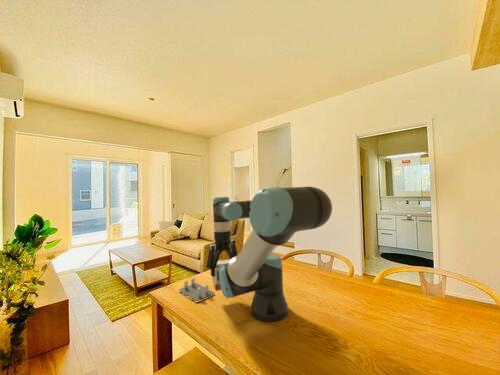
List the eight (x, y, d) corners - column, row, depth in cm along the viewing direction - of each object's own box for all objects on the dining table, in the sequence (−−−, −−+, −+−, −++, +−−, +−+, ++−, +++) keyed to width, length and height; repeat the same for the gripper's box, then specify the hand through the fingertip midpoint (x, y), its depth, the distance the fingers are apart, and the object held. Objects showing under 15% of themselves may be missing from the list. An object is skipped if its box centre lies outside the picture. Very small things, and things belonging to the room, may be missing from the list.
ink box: (215, 291, 95) (214, 264, 95) (214, 286, 99) (213, 261, 100) (234, 288, 97) (233, 262, 97) (232, 283, 102) (231, 258, 102)
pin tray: (214, 294, 104) (214, 284, 104) (196, 303, 97) (196, 292, 97) (196, 284, 116) (195, 275, 116) (178, 291, 109) (178, 281, 109)
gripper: (234, 226, 109) (236, 270, 109) (196, 233, 94) (198, 285, 93) (245, 227, 104) (246, 274, 104) (206, 235, 88) (208, 290, 88)
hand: (224, 279), depth 98 cm, fingers closed on ink box, 9 cm apart
